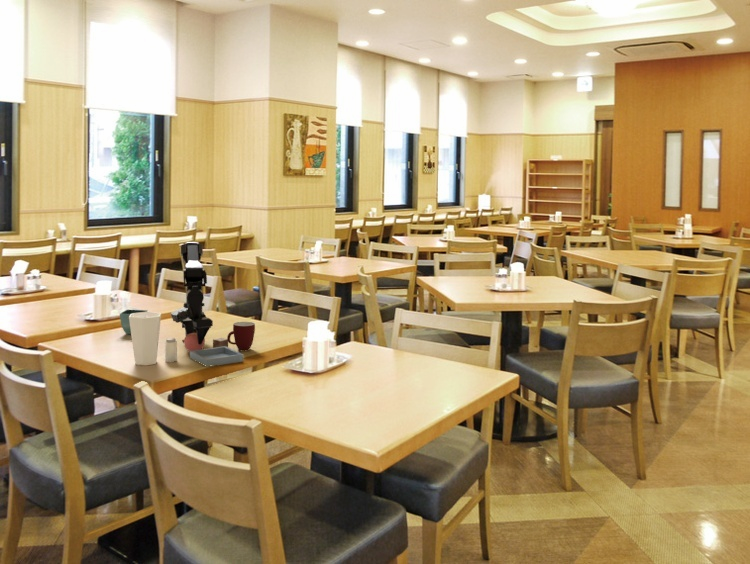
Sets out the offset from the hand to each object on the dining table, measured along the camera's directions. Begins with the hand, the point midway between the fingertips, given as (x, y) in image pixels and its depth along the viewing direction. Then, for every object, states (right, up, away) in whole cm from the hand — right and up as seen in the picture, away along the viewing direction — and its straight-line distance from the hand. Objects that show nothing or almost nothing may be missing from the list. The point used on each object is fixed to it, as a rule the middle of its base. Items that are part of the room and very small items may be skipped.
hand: (194, 341), depth 267 cm
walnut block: (+8, -4, +6) cm, 11 cm away
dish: (+10, -6, -9) cm, 15 cm away
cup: (-13, -6, -16) cm, 21 cm away
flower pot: (-32, +1, +27) cm, 42 cm away
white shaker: (-5, -6, -12) cm, 15 cm away
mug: (+16, -4, +6) cm, 18 cm away
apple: (0, -4, 0) cm, 4 cm away
